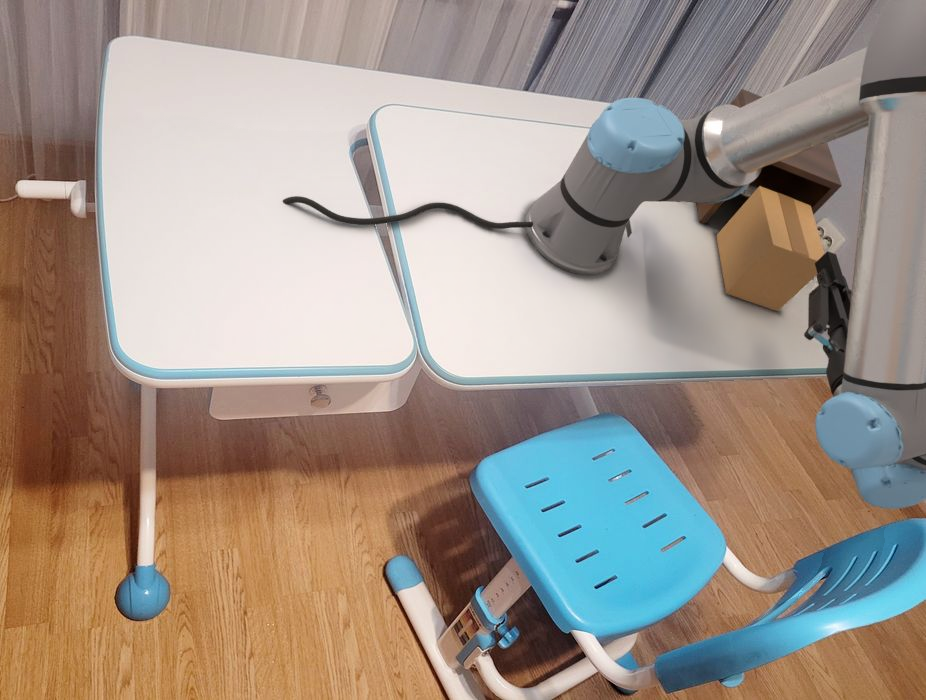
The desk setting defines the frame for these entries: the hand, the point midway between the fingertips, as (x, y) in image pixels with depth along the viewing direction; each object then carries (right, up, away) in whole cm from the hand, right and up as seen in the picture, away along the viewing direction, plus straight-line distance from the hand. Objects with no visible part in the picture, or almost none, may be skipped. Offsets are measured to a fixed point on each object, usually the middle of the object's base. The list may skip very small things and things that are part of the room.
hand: (825, 259), depth 111 cm
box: (-4, 0, +19) cm, 20 cm away
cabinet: (-3, +14, +30) cm, 33 cm away
